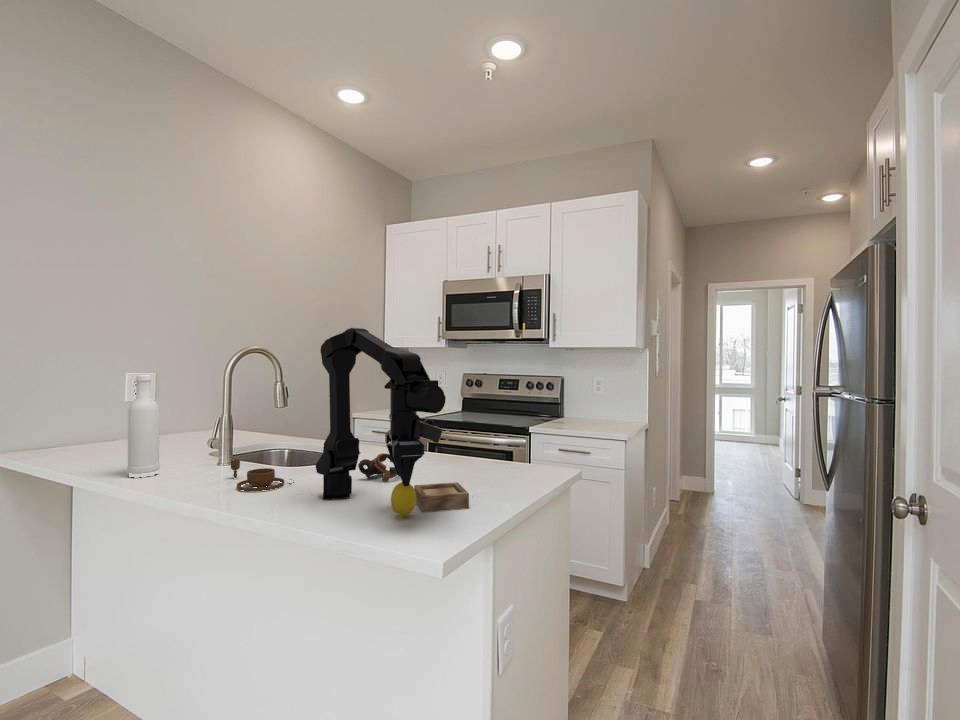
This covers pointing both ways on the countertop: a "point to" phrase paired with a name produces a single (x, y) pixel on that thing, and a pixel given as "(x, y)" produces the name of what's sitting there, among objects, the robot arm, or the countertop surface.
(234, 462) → the place setting
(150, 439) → the bottle
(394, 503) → the lemon
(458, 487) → the walnut base
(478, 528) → the countertop surface
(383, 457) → the brown twisted loop
